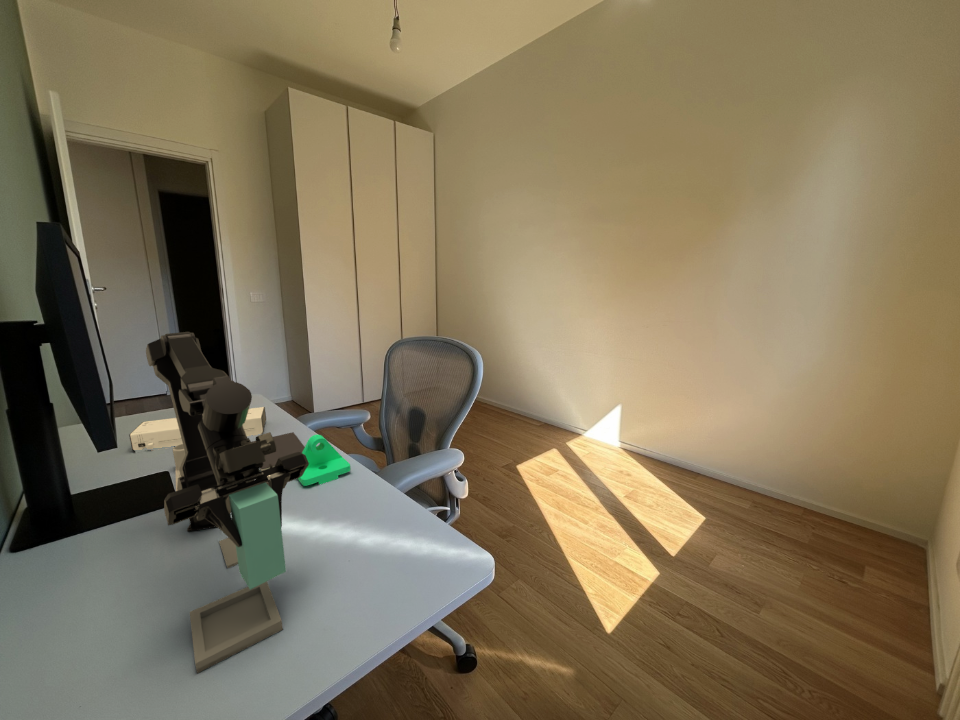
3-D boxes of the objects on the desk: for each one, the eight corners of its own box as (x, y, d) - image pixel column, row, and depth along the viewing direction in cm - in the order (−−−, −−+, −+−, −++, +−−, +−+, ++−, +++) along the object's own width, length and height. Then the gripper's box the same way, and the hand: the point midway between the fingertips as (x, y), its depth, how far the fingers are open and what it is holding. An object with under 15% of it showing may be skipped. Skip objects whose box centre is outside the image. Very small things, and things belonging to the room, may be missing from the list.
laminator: (266, 423, 139) (264, 406, 138) (264, 436, 128) (261, 418, 127) (146, 439, 126) (142, 421, 124) (131, 456, 115) (127, 436, 113)
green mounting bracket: (304, 490, 96) (299, 451, 94) (295, 478, 102) (290, 441, 99) (352, 474, 103) (349, 437, 101) (341, 463, 109) (337, 428, 107)
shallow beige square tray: (191, 620, 60) (189, 611, 60) (267, 586, 66) (266, 578, 66) (197, 673, 52) (195, 663, 52) (282, 629, 58) (281, 620, 58)
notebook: (312, 460, 112) (293, 436, 128) (311, 455, 111) (293, 431, 128) (261, 474, 104) (249, 446, 121) (260, 469, 104) (248, 442, 120)
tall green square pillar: (239, 571, 60) (228, 494, 58) (274, 555, 64) (265, 482, 61) (249, 589, 57) (239, 509, 54) (286, 571, 61) (277, 494, 58)
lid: (227, 571, 71) (227, 566, 70) (219, 545, 77) (219, 541, 77) (282, 548, 76) (281, 544, 76) (270, 526, 83) (269, 522, 83)
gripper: (152, 440, 51) (186, 554, 46) (298, 405, 65) (336, 491, 60) (153, 474, 58) (182, 577, 53) (284, 436, 72) (317, 516, 67)
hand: (260, 537), depth 58 cm, fingers closed on tall green square pillar, 5 cm apart
